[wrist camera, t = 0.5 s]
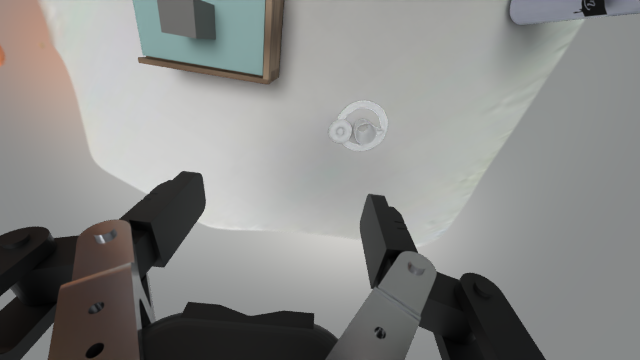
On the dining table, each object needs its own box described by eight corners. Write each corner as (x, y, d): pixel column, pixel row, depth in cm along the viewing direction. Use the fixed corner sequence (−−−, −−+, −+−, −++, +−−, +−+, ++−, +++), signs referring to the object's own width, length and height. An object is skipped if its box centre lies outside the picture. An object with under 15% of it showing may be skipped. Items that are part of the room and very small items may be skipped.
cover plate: (129, -46, 22) (79, -69, 18) (267, -19, 23) (253, -34, 19) (147, 54, 27) (110, 56, 22) (263, 74, 27) (252, 80, 23)
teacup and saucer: (323, 139, 38) (323, 148, 34) (342, 89, 34) (344, 94, 31) (373, 156, 39) (377, 167, 36) (396, 110, 36) (404, 118, 32)
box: (163, -38, 27) (114, -63, 21) (284, -14, 28) (273, -31, 22) (175, 59, 32) (138, 62, 26) (278, 76, 33) (268, 84, 27)
